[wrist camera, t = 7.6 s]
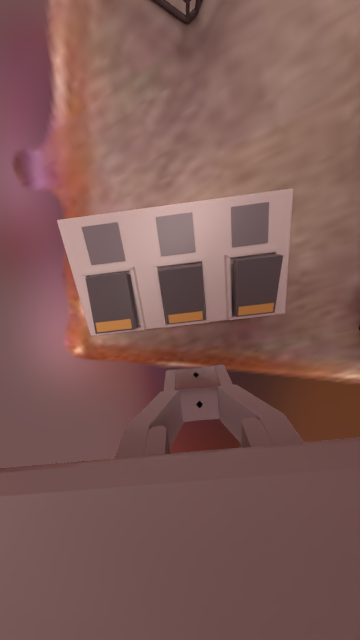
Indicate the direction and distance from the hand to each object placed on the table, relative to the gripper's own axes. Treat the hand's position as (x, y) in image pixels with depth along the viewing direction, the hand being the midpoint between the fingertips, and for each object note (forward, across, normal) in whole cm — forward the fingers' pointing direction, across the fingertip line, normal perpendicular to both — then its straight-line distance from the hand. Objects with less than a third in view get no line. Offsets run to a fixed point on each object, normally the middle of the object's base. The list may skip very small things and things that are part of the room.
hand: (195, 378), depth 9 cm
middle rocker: (+14, 0, -2) cm, 14 cm away
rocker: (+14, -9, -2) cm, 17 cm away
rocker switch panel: (+19, 0, -5) cm, 20 cm away
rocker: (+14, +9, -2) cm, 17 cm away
